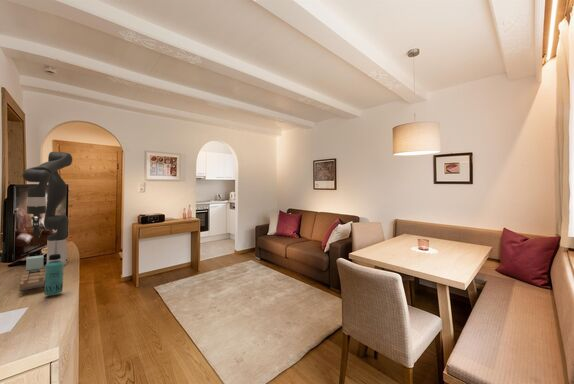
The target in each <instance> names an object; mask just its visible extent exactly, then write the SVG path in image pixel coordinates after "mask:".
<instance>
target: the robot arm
mask: <svg viewBox="0 0 574 384" xmlns="http://www.w3.org/2000/svg"><path fill="white" fill-rule="evenodd" d="M47 157H48V161H45V162H43V163H41V164H40V165H37V166H34V167H29V168H27V169H25V170H24V171H23V172H22V178H23V180H24V181H26V182H30V183H38V184H37V185H33V186H29V187H28V188H27V196H26V197H27V199H26V214H27V215H33V216H31V218H30V221H31V227H32V229H33V230H32V235H33V236H39V235H40V226H41V223H42V216H41V214H44V220H43V226H44V228H45V229H46V230H57V231H56V232H54V233H52V234H49V235H48V236H47V237H46V239H47V241H46V242H47V243H46V264H47V263H49V262H51V261H62V262H63V266H65V265H67V236H68V231H69V218H68V217H69V216H67V215H65V214H64V215H61V214H58V215H57V214H56V212H57V208H58V206H60V204H61V203H62V202H63V201H64V200H65V198H66V197H67V189H68V186H67V184H66V182H65V181H64V179H63V178H62V176H61V175H60V174H59V170H61V169H65V168H66V167H70V166H71V165H72V164H73V156H72V154H71V153H70V152H69V153H68V152H60V151H50V152H49V153H48V155H47ZM46 190H47V193H46ZM46 195H47V196H46ZM53 254H60V256H61V258H60V259H57V260H49V256H50V255H53Z"/></svg>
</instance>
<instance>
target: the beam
mask: <svg viewBox="0 0 574 384" xmlns="http://www.w3.org/2000/svg"><path fill="white" fill-rule="evenodd" d="M45 270H46V267H43V268H40V269H39V271H37V272H30V270H26V269H25V270H23V271H22V274H21V279H20V280H19V281H20V282H19V291H20V292H23V291H25V290H32V289H36V288H37V289H38V288H42V287H45V286H44V285H45V281H44V280H45Z"/></svg>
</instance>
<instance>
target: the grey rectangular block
mask: <svg viewBox="0 0 574 384" xmlns="http://www.w3.org/2000/svg"><path fill="white" fill-rule="evenodd" d="M44 256H45V255H44V254H42V255H33V256H27V257H26V258H25V260H26V263H25V271H26V270H30V272H37V271H39V269H40V268H44V259H45V257H44Z"/></svg>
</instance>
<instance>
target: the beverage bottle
mask: <svg viewBox="0 0 574 384" xmlns="http://www.w3.org/2000/svg"><path fill="white" fill-rule="evenodd" d="M60 258H61V256H60V254H53V255H50V256H49V260H57V259H60ZM44 265H45V268H46V270H45V280H44V281H45V285H44V286H43V287H44V288H43V289H44V290H43V291H44V292H43V294H44V295H45V296H55V295H57V294H60V293H62V292H63V288H64V265H63V262H62V261H51V262H49V263H47V262H46V264H44Z"/></svg>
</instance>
